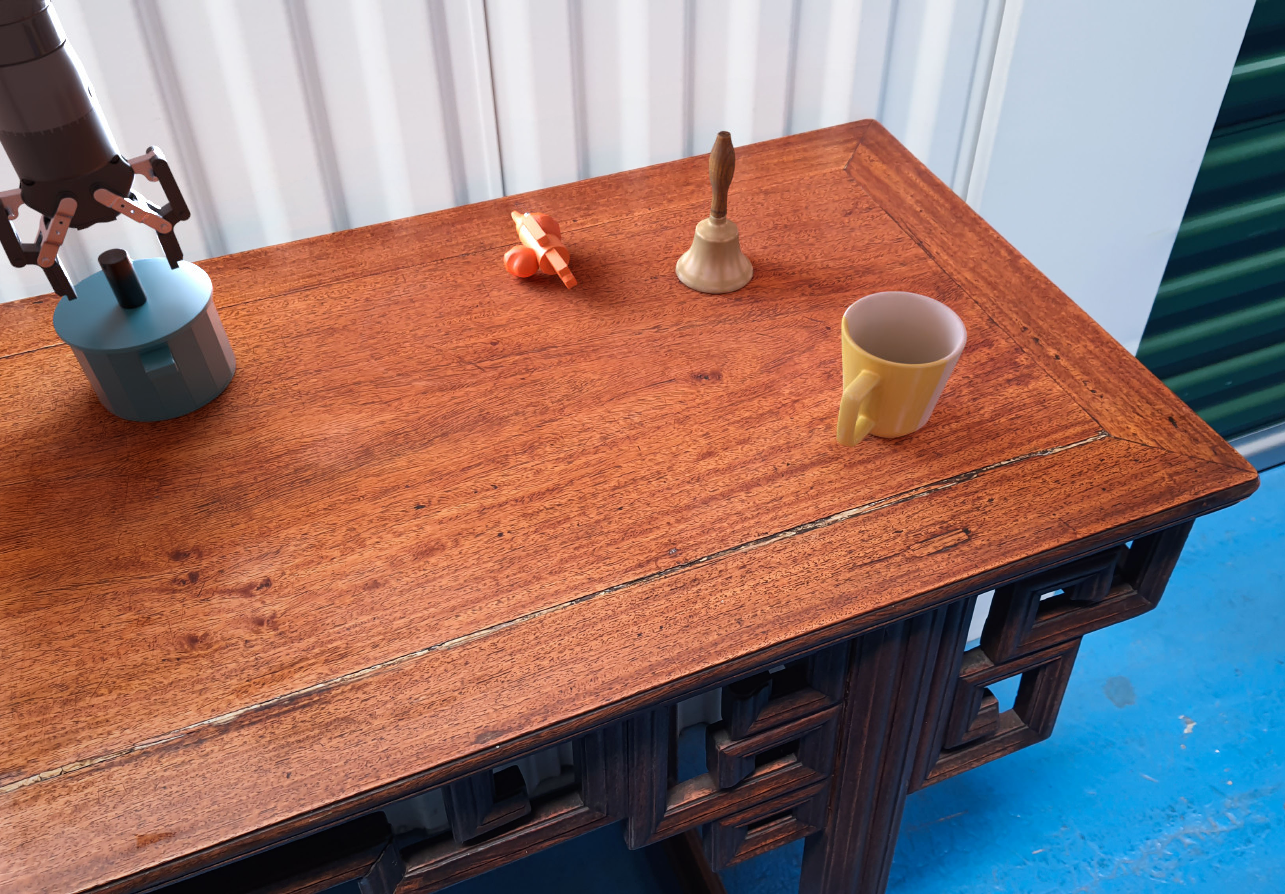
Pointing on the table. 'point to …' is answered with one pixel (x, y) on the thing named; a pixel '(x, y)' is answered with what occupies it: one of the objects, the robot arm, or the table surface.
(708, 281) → the hand bell
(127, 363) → the pot
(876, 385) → the mug
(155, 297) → the lid
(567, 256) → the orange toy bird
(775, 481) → the table surface
